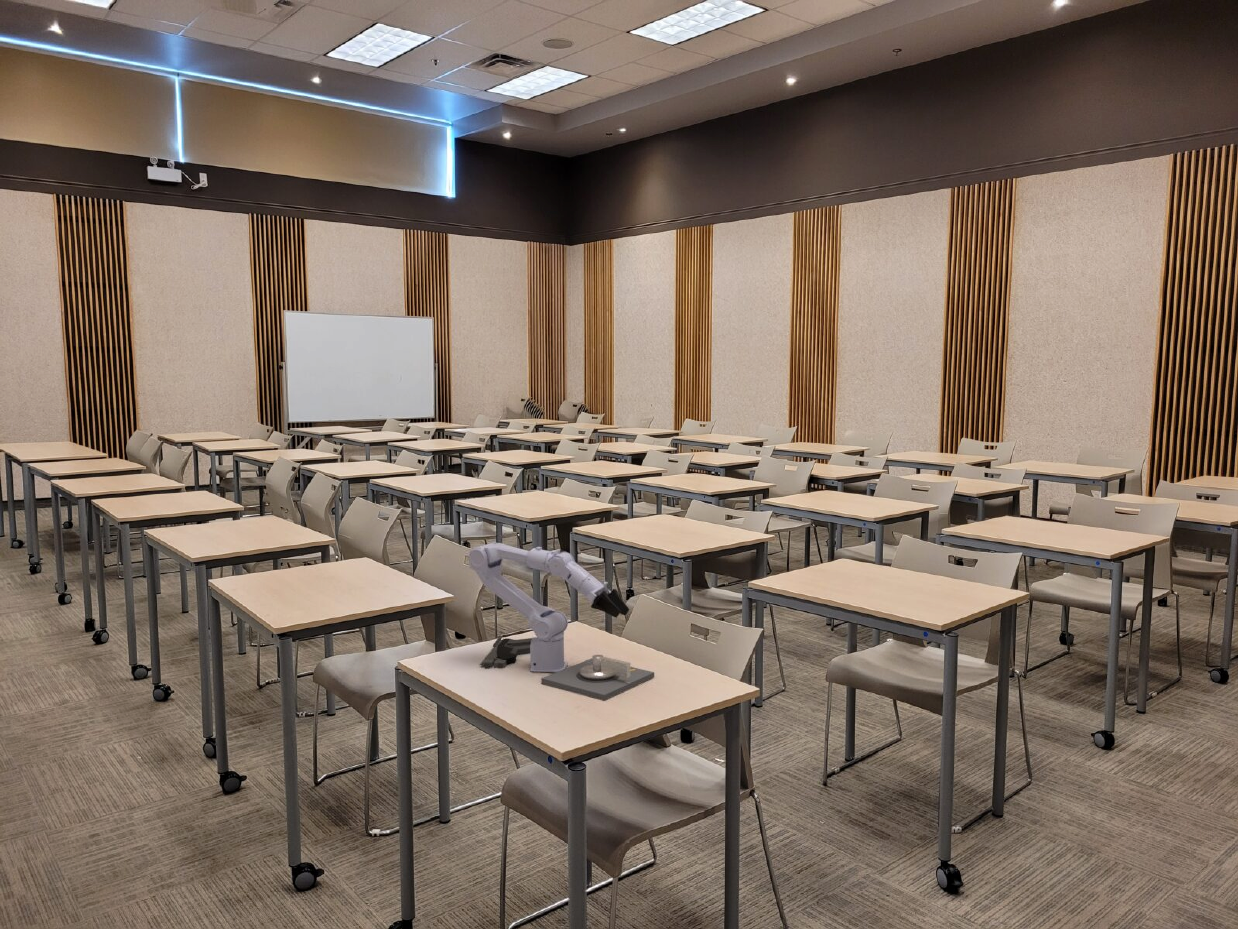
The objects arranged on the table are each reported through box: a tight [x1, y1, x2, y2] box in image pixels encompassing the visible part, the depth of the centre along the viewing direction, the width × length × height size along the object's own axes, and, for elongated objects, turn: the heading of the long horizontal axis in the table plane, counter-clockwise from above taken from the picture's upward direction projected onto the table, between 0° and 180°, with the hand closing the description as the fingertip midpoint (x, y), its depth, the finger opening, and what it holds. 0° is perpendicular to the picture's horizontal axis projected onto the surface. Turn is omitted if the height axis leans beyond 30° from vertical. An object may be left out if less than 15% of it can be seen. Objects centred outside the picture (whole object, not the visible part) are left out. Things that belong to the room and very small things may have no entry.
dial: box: [580, 654, 631, 680], centre depth 239 cm, size 16×10×5 cm, turn 52°
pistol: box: [478, 637, 533, 670], centre depth 265 cm, size 2×26×15 cm
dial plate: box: [540, 657, 655, 702], centre depth 241 cm, size 22×22×2 cm
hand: (623, 613), depth 241 cm, fingers open, 7 cm apart
